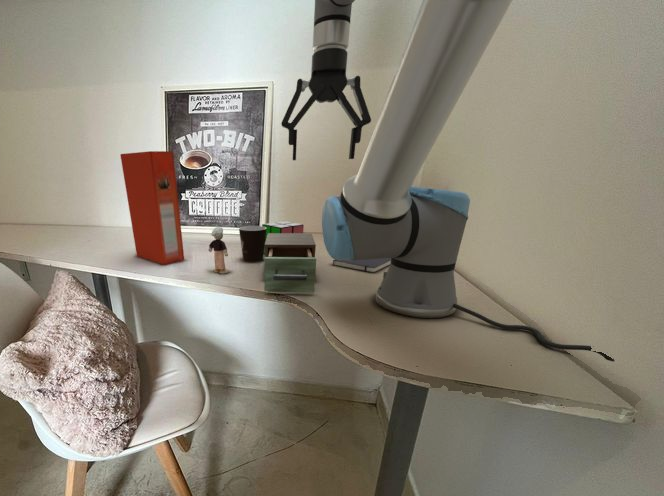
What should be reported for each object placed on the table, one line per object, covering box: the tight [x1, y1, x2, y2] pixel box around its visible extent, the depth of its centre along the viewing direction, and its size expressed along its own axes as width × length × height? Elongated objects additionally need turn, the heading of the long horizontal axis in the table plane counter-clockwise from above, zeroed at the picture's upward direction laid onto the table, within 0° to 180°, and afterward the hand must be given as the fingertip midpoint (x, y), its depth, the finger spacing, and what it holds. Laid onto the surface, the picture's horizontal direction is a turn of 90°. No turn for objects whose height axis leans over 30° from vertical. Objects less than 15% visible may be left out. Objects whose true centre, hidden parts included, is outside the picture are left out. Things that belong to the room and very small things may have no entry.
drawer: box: [263, 248, 317, 293], centre depth 80 cm, size 20×11×8 cm, turn 173°
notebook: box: [332, 258, 391, 274], centre depth 102 cm, size 13×2×21 cm
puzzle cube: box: [261, 220, 304, 255], centre depth 112 cm, size 10×10×10 cm
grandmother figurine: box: [208, 226, 229, 275], centre depth 94 cm, size 8×4×13 cm, turn 56°
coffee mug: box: [238, 225, 267, 263], centre depth 107 cm, size 12×9×10 cm
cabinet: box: [264, 232, 317, 258], centre depth 92 cm, size 16×13×10 cm
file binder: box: [119, 150, 185, 266], centre depth 105 cm, size 8×17×32 cm, turn 44°
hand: (322, 159), depth 81 cm, fingers open, 13 cm apart
